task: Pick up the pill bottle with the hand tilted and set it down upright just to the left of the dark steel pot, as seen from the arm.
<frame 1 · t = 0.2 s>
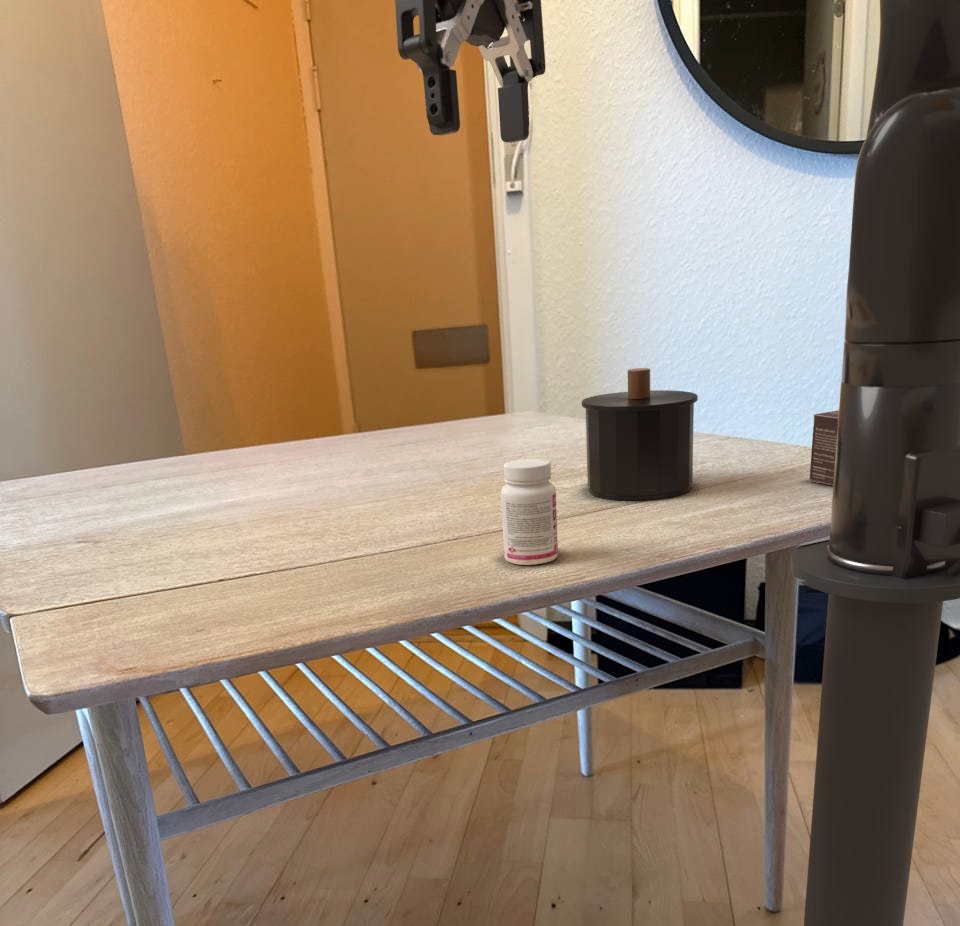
hand: (482, 137, 67), 33 cm above the table, tool pointing down, fingers open, 8 cm apart
pot: (639, 488, 103), on the table
pot lid: (639, 402, 100), point 9 cm above the table, touching pot
box: (849, 483, 99), on the table
pill bottle: (531, 560, 81), on the table
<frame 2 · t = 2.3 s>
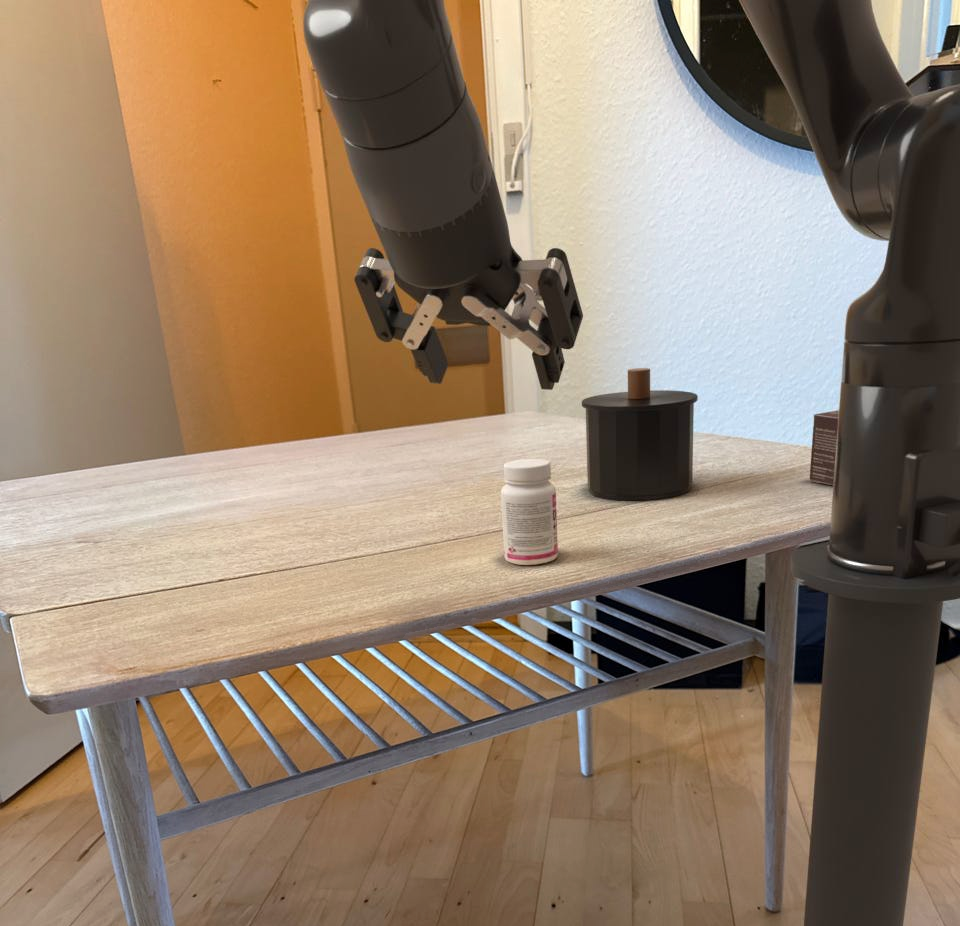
hand: (493, 377, 66), 17 cm above the table, tool tilted 40°, fingers open, 8 cm apart
nothing on the table moved.
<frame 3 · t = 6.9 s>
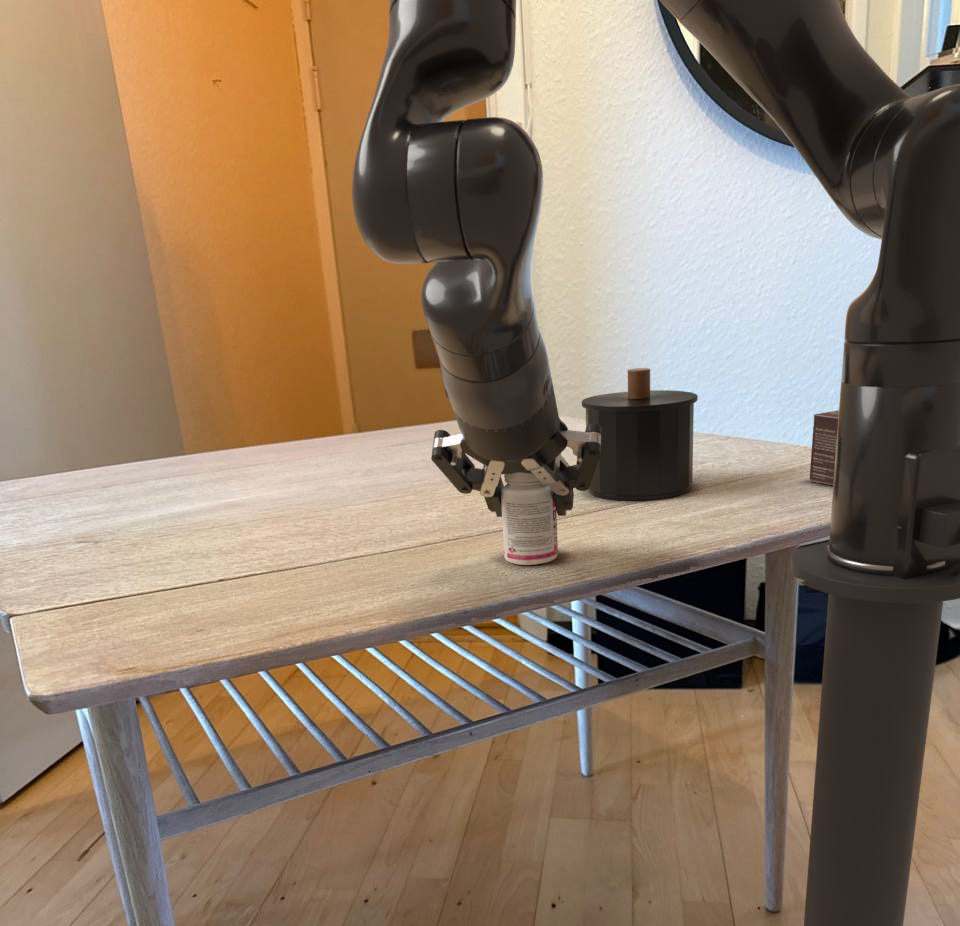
hand: (532, 507, 81), 4 cm above the table, tool tilted 45°, fingers closed on pill bottle, 4 cm apart
pill bottle: (531, 560, 81), on the table, touching gripper
everything else where it was.
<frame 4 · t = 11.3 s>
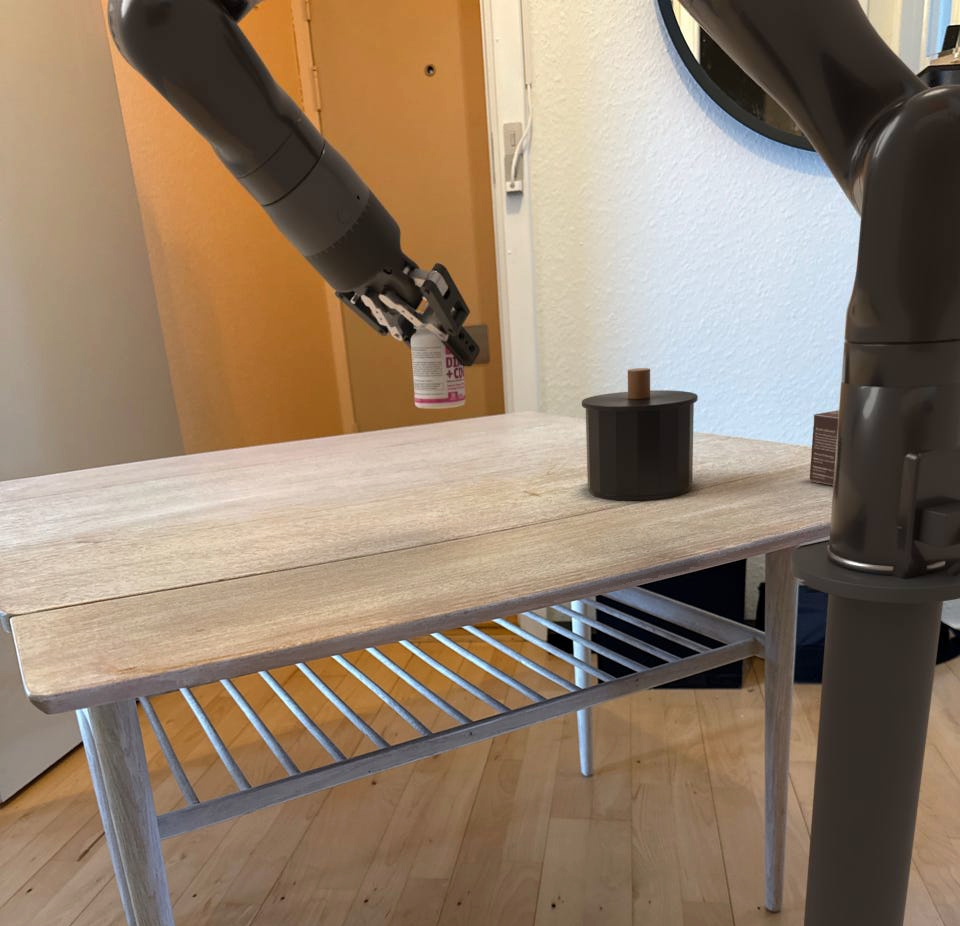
hand: (452, 358, 85), 17 cm above the table, tool tilted 45°, fingers closed on pill bottle, 4 cm apart
pill bottle: (440, 408, 85), point 12 cm above the table, touching gripper
everything else where it was.
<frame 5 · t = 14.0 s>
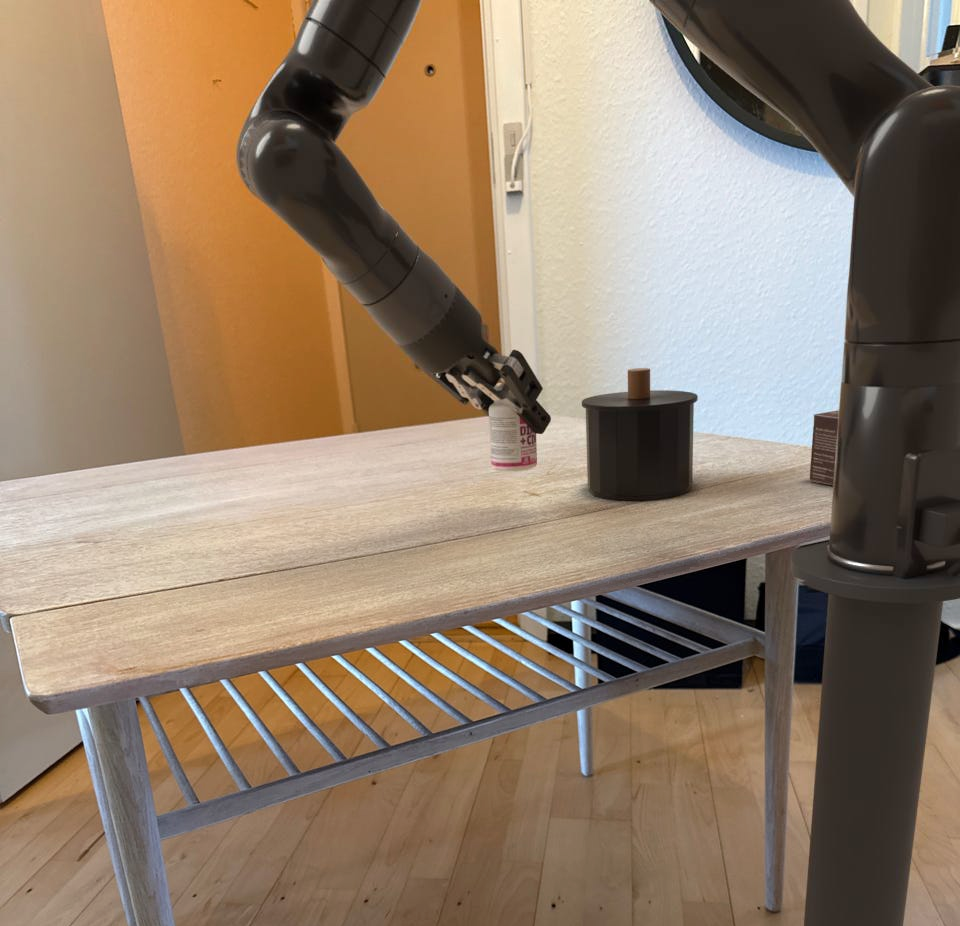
hand: (526, 424, 94), 9 cm above the table, tool tilted 45°, fingers closed on pill bottle, 4 cm apart
pill bottle: (514, 469, 95), point 5 cm above the table, touching gripper
everything else where it was.
when the fingers open (4 cm above the table, at t = 16.1 s): pill bottle stays where it is, on the table.
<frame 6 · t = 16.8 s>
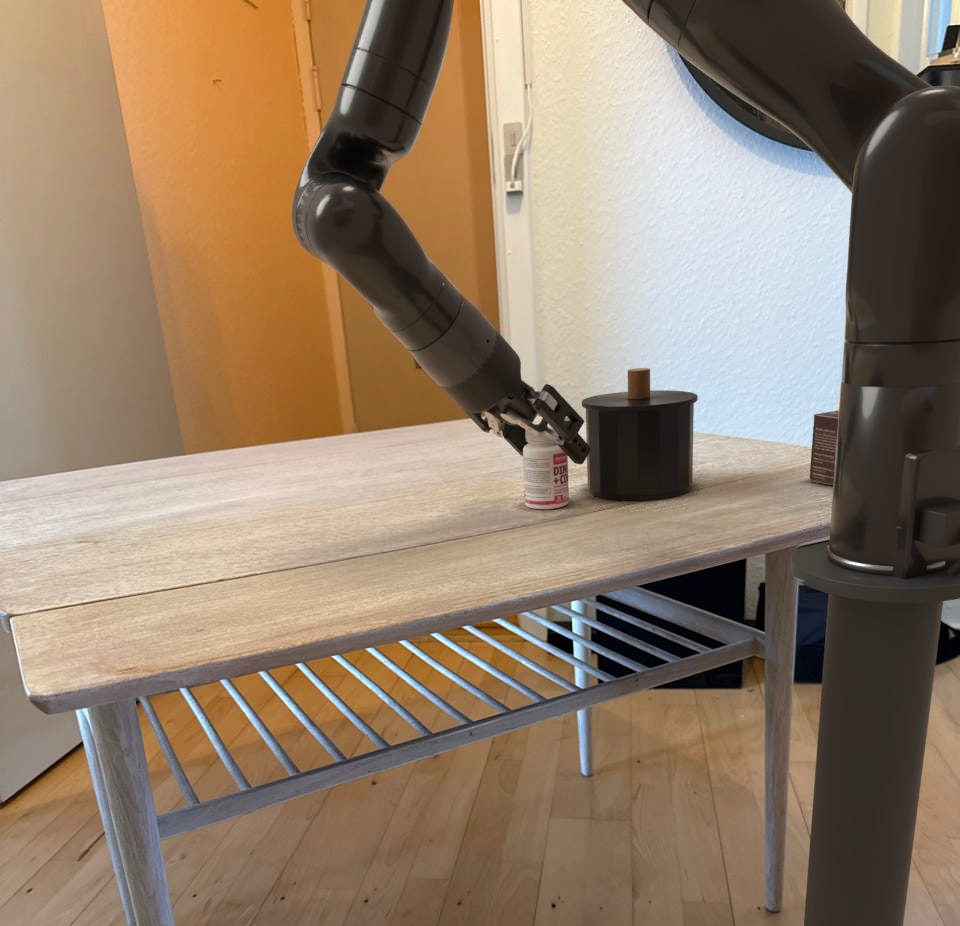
hand: (556, 453, 98), 5 cm above the table, tool tilted 45°, fingers open, 8 cm apart
pill bottle: (547, 506, 99), on the table
everything else where it was.
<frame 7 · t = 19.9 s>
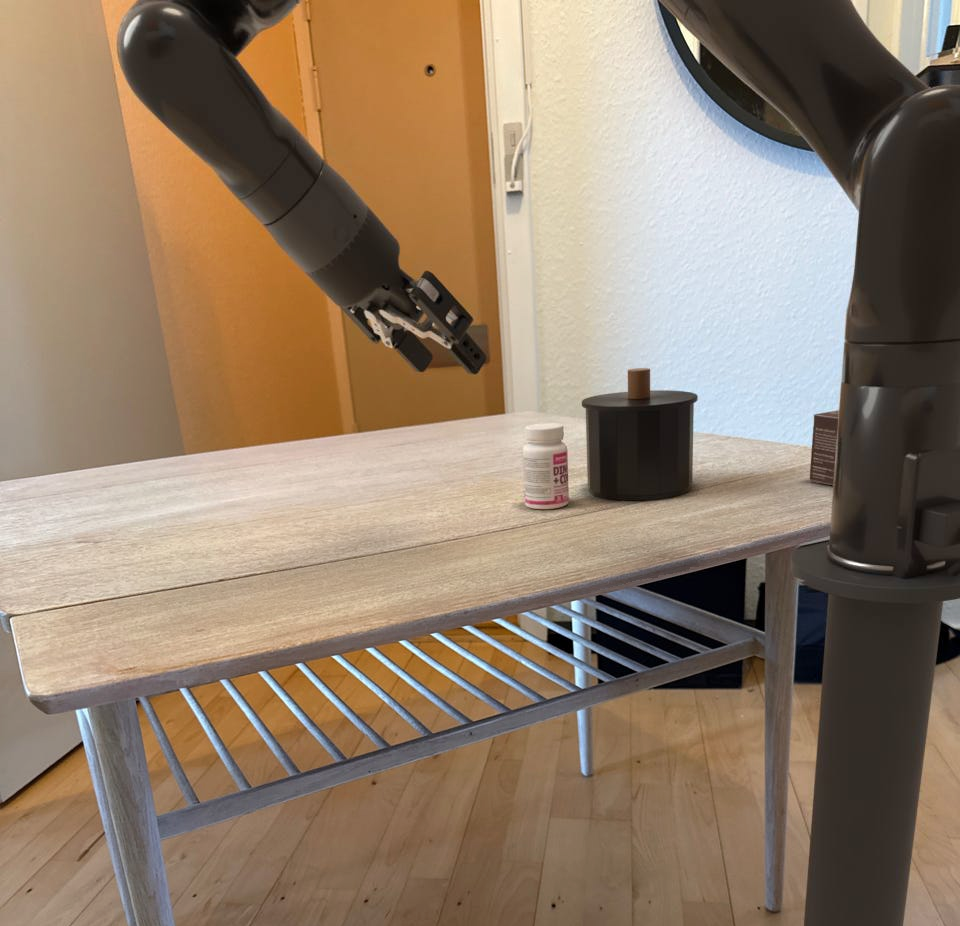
hand: (451, 366, 86), 16 cm above the table, tool tilted 45°, fingers open, 8 cm apart
nothing on the table moved.
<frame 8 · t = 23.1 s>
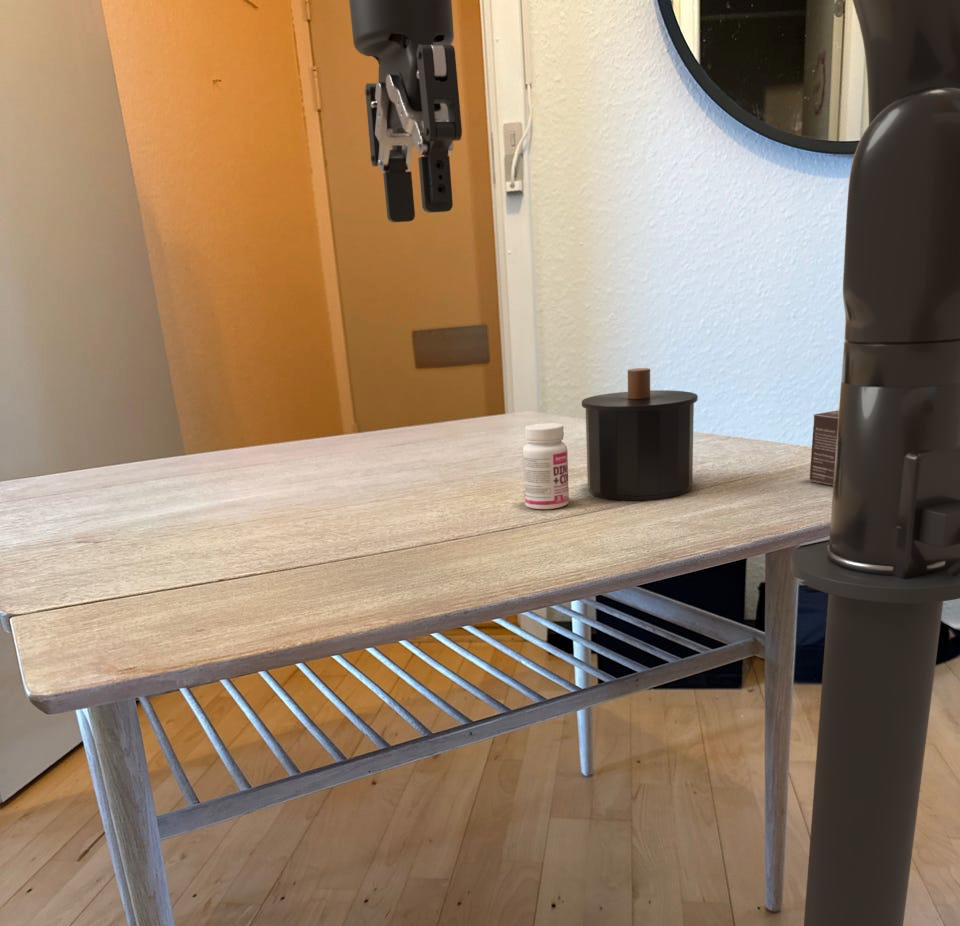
hand: (418, 217, 73), 28 cm above the table, tool pointing down, fingers open, 8 cm apart
nothing on the table moved.
at the end: pill bottle inside the target area on the table beside the pot (0.2 cm from its centre), on the table; pill bottle tilted 0°; the gripper is holding nothing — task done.
